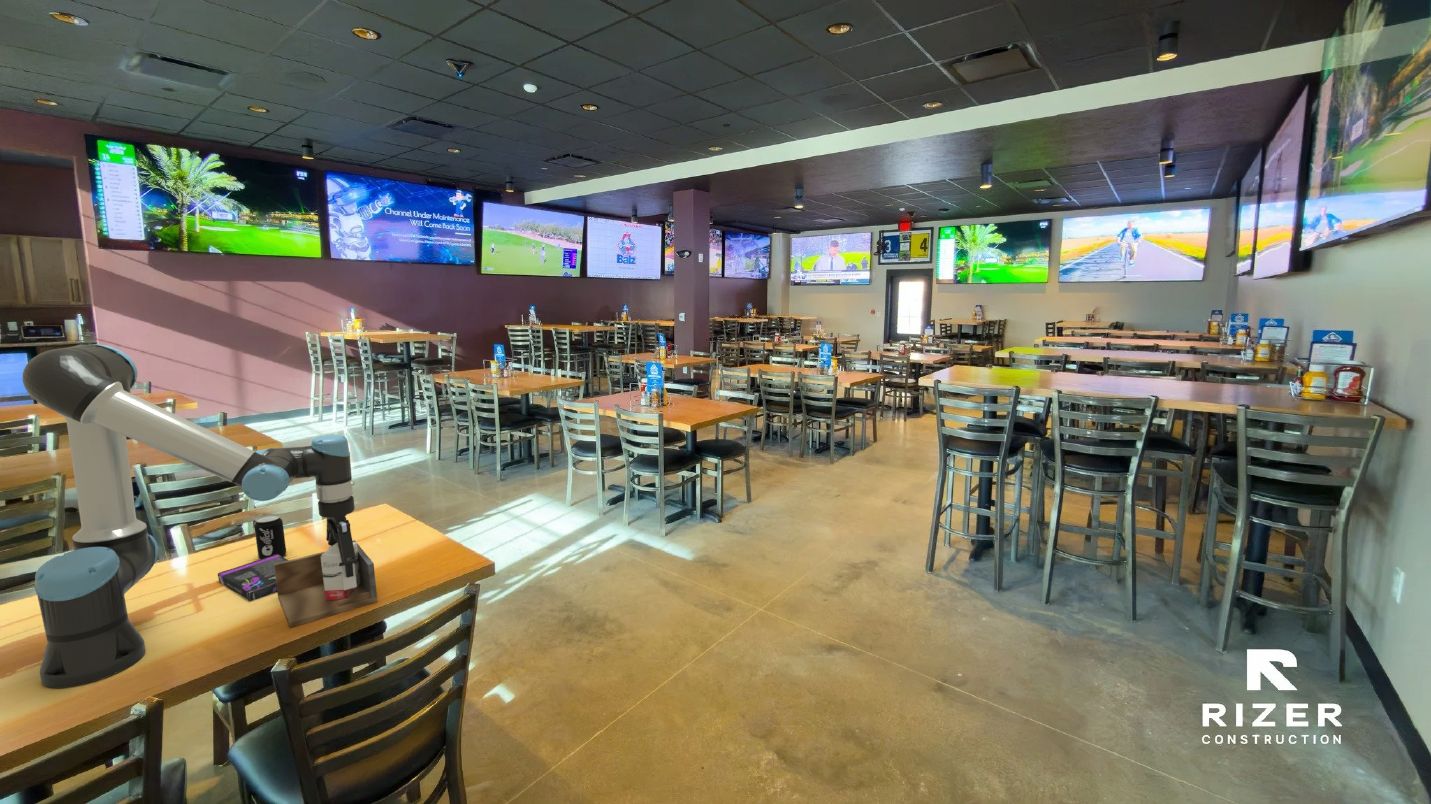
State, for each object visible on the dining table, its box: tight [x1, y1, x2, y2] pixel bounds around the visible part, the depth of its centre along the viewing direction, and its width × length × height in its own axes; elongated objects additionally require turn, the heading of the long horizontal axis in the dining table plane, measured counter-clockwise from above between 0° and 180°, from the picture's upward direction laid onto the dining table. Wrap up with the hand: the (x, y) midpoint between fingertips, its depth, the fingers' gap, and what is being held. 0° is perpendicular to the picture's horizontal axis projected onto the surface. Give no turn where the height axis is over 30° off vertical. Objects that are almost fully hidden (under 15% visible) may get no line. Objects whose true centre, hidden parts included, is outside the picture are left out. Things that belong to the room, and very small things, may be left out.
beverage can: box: [253, 514, 287, 560], centre depth 175 cm, size 7×7×12 cm
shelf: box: [274, 540, 378, 628], centre depth 152 cm, size 18×19×10 cm
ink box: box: [321, 541, 361, 600], centre depth 153 cm, size 8×5×12 cm, turn 7°
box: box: [217, 554, 289, 602], centre depth 162 cm, size 14×4×20 cm
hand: (343, 578), depth 154 cm, fingers open, 13 cm apart
